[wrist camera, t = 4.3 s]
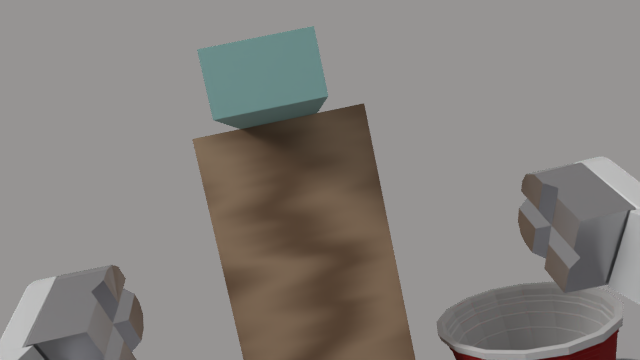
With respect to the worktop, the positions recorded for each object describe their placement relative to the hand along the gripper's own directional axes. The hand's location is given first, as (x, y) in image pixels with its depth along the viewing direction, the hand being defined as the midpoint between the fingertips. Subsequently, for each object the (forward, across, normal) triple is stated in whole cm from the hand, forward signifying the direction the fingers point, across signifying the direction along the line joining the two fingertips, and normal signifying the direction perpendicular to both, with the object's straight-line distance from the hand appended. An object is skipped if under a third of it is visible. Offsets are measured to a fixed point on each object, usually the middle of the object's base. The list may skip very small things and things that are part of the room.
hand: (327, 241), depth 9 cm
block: (+16, -1, -6) cm, 17 cm away
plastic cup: (+4, +11, -29) cm, 31 cm away
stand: (+5, -1, -29) cm, 29 cm away
